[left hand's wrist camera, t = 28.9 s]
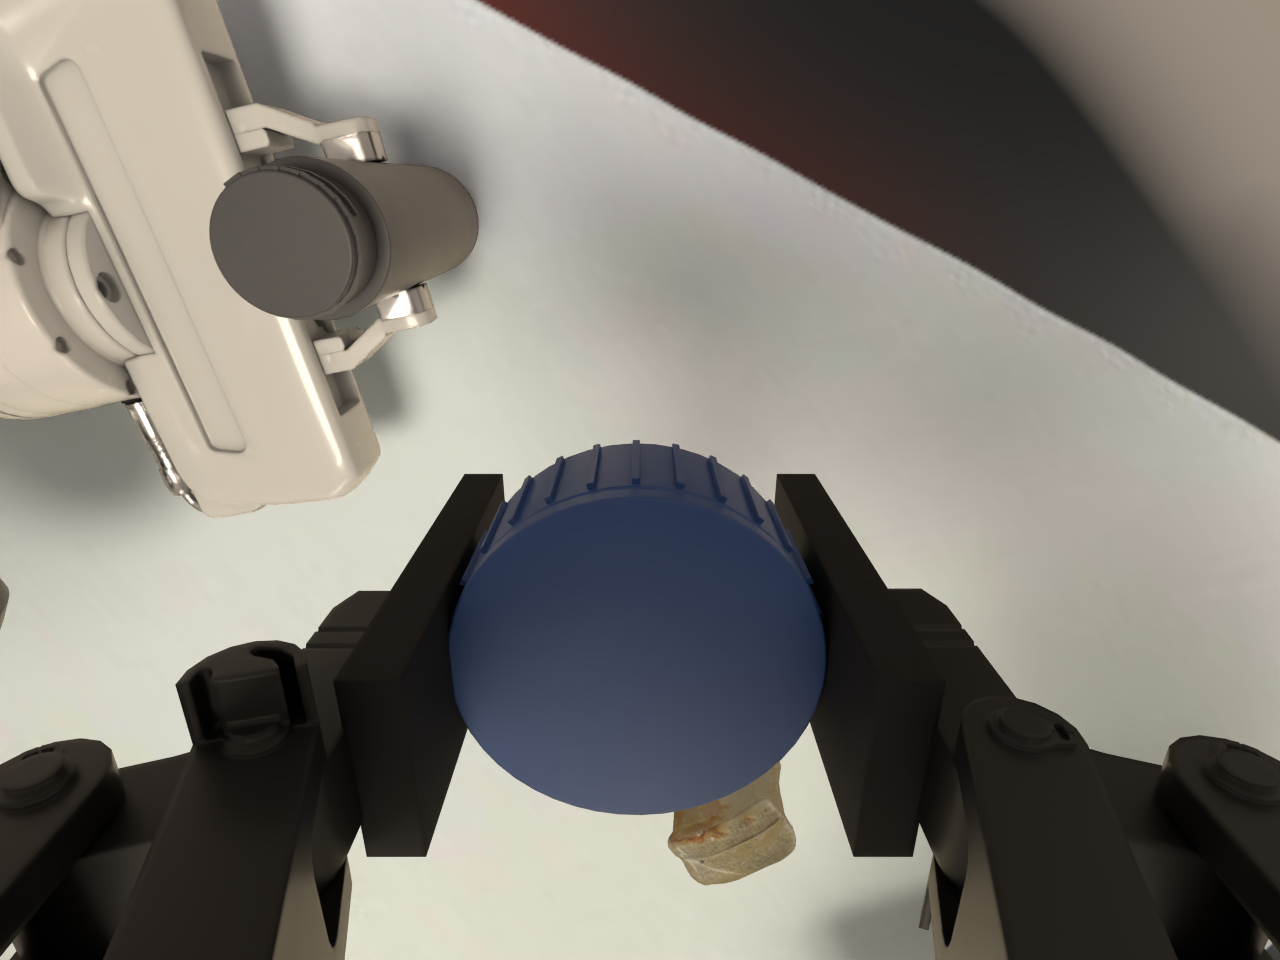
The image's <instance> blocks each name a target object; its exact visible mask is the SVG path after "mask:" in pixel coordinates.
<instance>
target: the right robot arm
mask: <svg viewBox="0 0 1280 960" xmlns="http://www.w3.org/2000/svg"><path fill="white" fill-rule="evenodd" d="M292 136H293V137H296V138H299V139H302V140H305V141H308V142H311V143H314V144H317V145H320V146H322V148H323V150H324V153H325V156H326V158H330V159H342V160H354V161H366V162H378V163H382V162H385V161H388V159H387V155H386V152H385V149H384V145H383V142H382V138H381V135H380V130H379V128H378V125H377V122H376V119H374V118H370V117H355V118H349V119H345V120H340V121H336V122H332V123H327V124H325V123H322V122H319V121H316V120H313V119H311V118H308V117H305V116H302V115H299V114H296V113H294V112H291V111H288V110H285V109H282V108H277V107H272V106H268V105H263V104H259V103H254V102H253V99H252V96H251V93H250V91H249V88H248V85H247V82H246V80H245V77H244V74H243V72H242V69H241V66H240V63H239V61H238V58H237V55H236V52H235V50H234V47H233V44H232V41H231V39H230V36H229V33H228V30H227V28H226V25H225V22H224V20H223V17H222V14H221V11H220V8H219V6H218V3H217V0H0V418H5V419H18V420H22V419H38V418H45V417H51V416H55V415H60V414H65V413H70V412H75V411H80V410H84V409H89V408H94V407H99V406H103V405H108V404H112V403H116V402H120V401H121V403H125V406H126V407H127V410H128V412H129V414H130V416H131V418H132V420H133V422H134V423H135V425H136V427H137V429H138V431H139V433H140V435H141V437H142V439H143V440H144V442H145V443H146V445H147V446H148V448H150V451H151V452H152V453H153V456H154V458H155V459H156V462H157V464H158V466H159V468H160V469H159V472H160V475H161V477H162V480H163V481H164V483H165V485H166V486H167V488H168V489H169V490H170V492H171V493H172V494H173V495H174V496H180V495H182V496H183V497H184V499H185V500H186V501H187V502H188V503H189V504H190V505H191V506H193V507H194V508H196V509H197V510H199V511H201V512H203V513H204V514H205V515H206V516H208V517H214V518H222V517H228V516H233V515H239V514H244V513H249V512H254V511H257V510H259V509H261V508H263V507H264V506H266V505H277V504H293V503H303V502H312V501H320V500H327V499H333V498H338V497H342V496H344V495H346V494H348V493H350V492H351V491H353V490H354V489H355V488H356V487H357V486H358V485H359V484H360V483H361V482H362V481H363V480H364V479H365V478H366V477H367V475H368V474H369V473H370V471H371V470H372V468H373V467H374V465H375V463H376V462H377V460H378V458H379V456H380V446H379V443H378V440H377V438H376V435H375V432H374V429H373V427H372V424H371V421H370V418H369V416H368V413H367V410H366V408H365V405H364V402H363V399H362V397H361V394H360V391H359V388H358V386H357V383H356V380H355V377H354V375H353V372H352V369H354V368H355V367H357V366H359V365H360V364H362V363H363V362H365V361H366V360H368V359H369V358H371V357H372V356H373V355H374V354H375V353H376V352H377V351H378V350H379V349H380V348H381V347H382V346H383V345H384V344H385V343H386V342H387V341H388V340H389V339H390V338H391V337H392V336H393V335H394V334H395V333H396V332H397V331H400V330H404V329H409V328H414V327H419V326H422V325H425V324H428V323H431V322H432V321H434V320H435V319H437V315H436V312H435V309H434V305H433V302H432V299H431V296H430V293H429V290H428V287H427V283H423V284H418V285H416V286H414V287H411V288H409V289H407V290H405V291H403V292H401V293H399V294H396V295H394V296H392V297H390V298H388V299H386V300H384V301H381V302H379V303H377V304H376V306H377V309H378V312H379V315H380V318H378V319H377V320H376V321H375V322H374V323H373V324H372V325H371V326H370V327H369V328H368V329H367V330H366V331H365V332H364V333H363V334H362V333H361V330H360V329H359V328H358V327H353V328H348V329H343V330H338V331H337V328H336V326H335V323H334V320H316V319H313V320H312V319H308V320H294V319H290V318H284V317H278V316H275V315H272V314H269V313H266V312H264V311H262V310H260V309H258V308H256V307H255V306H253V305H251V304H250V303H248V302H247V301H246V300H244V299H243V298H242V297H241V296H240V295H239V294H237V293H236V292H235V290H234V289H233V288H232V287H231V286H230V285H229V284H228V282H227V281H226V279H225V278H224V277H223V275H222V273H221V271H220V270H219V268H218V266H217V264H216V261H215V259H214V256H213V253H212V249H211V244H210V236H209V225H210V217H211V213H212V210H213V207H214V204H215V202H216V200H217V198H218V197H219V195H220V194H221V192H222V191H223V190H224V189H225V186H224V185H223V183H225V182H226V181H227V180H229V179H230V178H231V177H232V176H234V175H235V174H236V173H238V172H241V171H244V170H247V169H250V168H252V167H255V166H264V165H265V164H267V163H269V162H272V161H274V160H275V159H274V156H273V153H277V152H281V151H285V150H289V149H293V148H294V146H295V143H294V140H293V137H292ZM191 491H193V493H194V494H193V493H192V492H191ZM8 599H9V590H8V587H7V586H6V584H5V583H4V582H3V581H2V580H1V578H0V629H1V626H2V623H3V620H4V616H5V612H6V608H7V603H8Z"/></svg>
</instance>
